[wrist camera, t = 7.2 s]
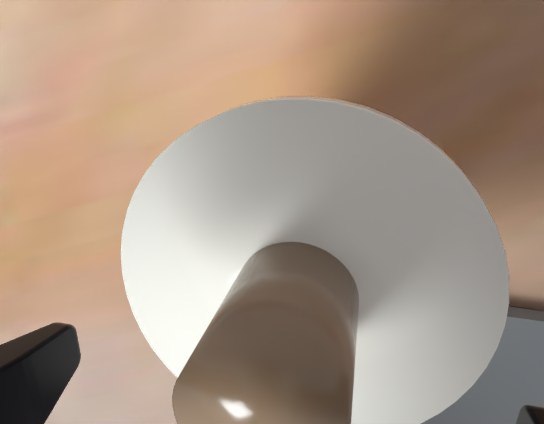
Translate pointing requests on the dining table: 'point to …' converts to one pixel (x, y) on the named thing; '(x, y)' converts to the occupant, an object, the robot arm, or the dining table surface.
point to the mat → (505, 376)
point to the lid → (313, 268)
